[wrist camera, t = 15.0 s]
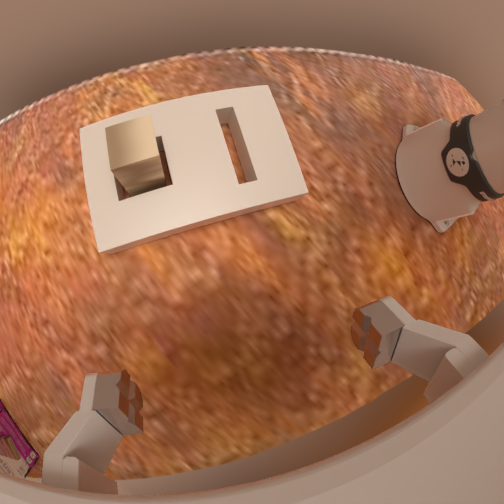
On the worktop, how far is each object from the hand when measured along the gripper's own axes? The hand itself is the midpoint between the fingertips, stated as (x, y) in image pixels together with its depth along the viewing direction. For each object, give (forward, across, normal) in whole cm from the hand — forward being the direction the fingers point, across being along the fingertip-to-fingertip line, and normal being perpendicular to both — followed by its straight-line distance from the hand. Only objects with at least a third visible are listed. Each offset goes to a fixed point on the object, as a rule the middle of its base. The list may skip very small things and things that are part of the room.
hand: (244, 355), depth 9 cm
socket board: (+26, 0, -2) cm, 26 cm away
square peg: (+25, +5, -2) cm, 26 cm away
